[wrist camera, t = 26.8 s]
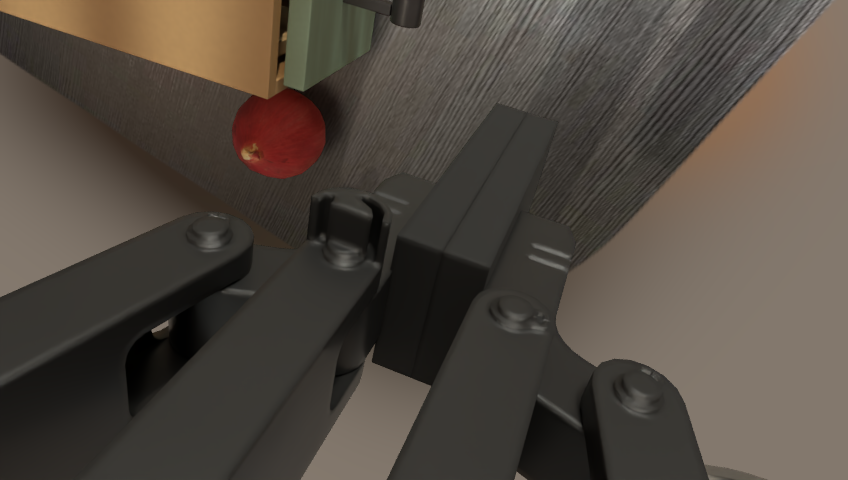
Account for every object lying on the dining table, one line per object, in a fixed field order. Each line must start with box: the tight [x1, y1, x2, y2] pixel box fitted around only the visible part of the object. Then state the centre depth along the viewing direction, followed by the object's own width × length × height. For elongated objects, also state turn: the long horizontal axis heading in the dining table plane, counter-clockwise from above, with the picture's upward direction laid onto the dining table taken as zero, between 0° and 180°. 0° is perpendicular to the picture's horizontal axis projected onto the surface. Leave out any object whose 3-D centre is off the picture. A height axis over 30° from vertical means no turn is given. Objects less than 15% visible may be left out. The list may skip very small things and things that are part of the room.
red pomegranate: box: [232, 88, 325, 179], centre depth 42 cm, size 6×6×8 cm
